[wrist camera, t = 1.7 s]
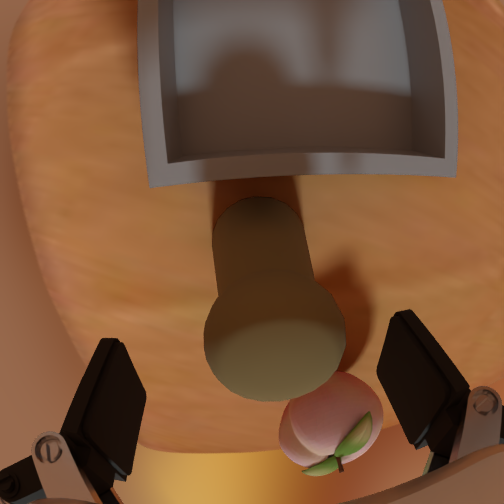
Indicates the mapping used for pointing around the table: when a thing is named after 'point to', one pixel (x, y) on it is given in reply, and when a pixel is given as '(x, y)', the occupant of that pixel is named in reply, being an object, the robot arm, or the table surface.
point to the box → (295, 88)
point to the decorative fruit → (331, 424)
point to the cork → (269, 306)
